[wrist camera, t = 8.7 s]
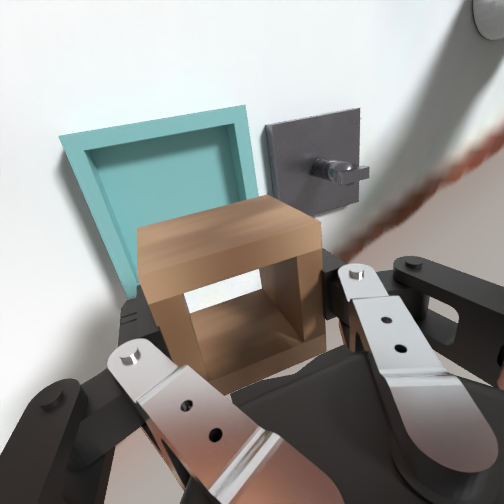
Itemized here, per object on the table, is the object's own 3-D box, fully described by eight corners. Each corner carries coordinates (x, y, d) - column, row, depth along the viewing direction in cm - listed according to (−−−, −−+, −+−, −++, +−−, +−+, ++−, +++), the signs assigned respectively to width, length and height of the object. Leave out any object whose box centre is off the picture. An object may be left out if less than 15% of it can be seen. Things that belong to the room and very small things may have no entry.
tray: (232, 107, 26) (245, 104, 23) (255, 242, 33) (266, 254, 30) (68, 134, 23) (58, 136, 20) (128, 280, 29) (127, 298, 26)
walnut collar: (267, 194, 13) (320, 221, 10) (280, 297, 16) (326, 351, 12) (136, 228, 12) (137, 276, 8) (175, 335, 15) (189, 410, 11)
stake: (350, 108, 31) (406, 104, 24) (350, 198, 35) (396, 214, 29) (265, 125, 28) (302, 124, 22) (276, 219, 33) (310, 242, 26)
